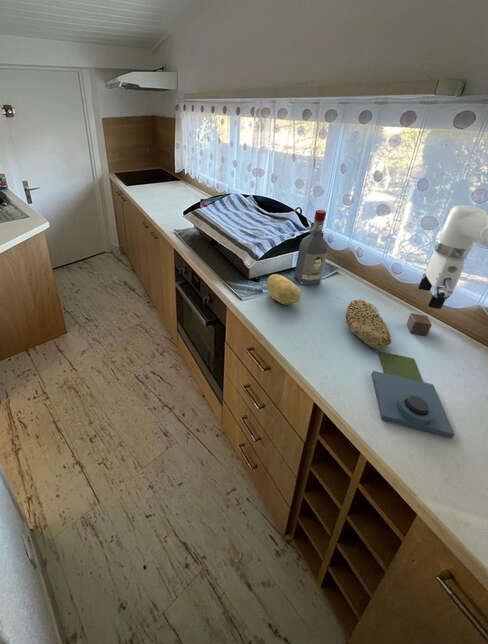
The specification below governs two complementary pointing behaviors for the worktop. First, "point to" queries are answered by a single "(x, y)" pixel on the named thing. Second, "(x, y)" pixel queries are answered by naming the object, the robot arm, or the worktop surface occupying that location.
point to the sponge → (368, 324)
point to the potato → (283, 289)
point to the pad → (400, 366)
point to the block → (418, 324)
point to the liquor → (312, 253)
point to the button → (417, 405)
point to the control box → (394, 409)
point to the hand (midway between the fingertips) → (428, 298)
